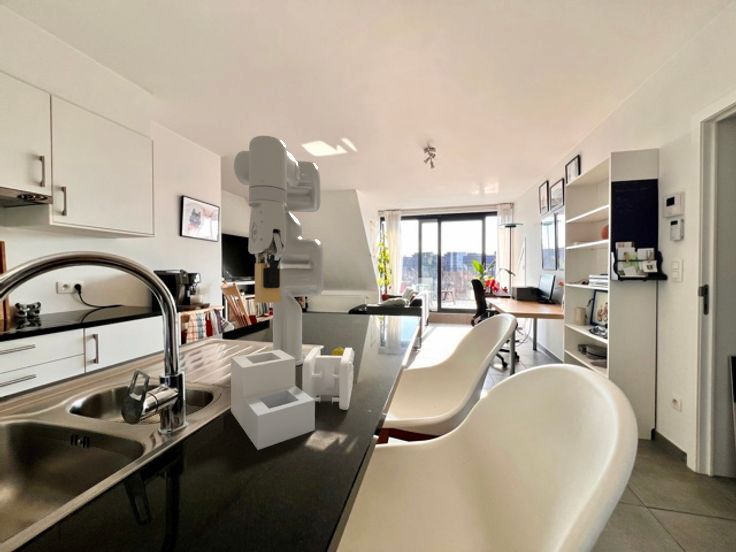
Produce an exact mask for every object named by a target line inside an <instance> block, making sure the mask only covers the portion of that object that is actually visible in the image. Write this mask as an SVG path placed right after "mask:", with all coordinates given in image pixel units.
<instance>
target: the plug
mask: <svg viewBox="0 0 736 552" xmlns="http://www.w3.org/2000/svg"><path fill="white" fill-rule="evenodd" d="M263 268H265V263H258V264H256V263H254V302H255V303H260V304H270V303H271V304H273V303H274V302H280V287H279V288H264V287H263ZM277 269H281V267H280V268H277Z"/></svg>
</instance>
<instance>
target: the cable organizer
mask: <svg viewBox="0 0 736 552" xmlns="http://www.w3.org/2000/svg"><path fill="white" fill-rule="evenodd" d="M354 359H355V351H354V350H353V347H345V348H344V353H343V356H331V355H321V348H320V347H316V346H315V347H313V348H312V349H311V350H310V351H309V353H308V354H307V355H306V358H305V360H304V362H303V364H302V369H301V370H302V371H301V373H302V376H301V377H302V378H301V379H302V380H301V382H302V384H301V385H302V387H301V388H302V389H301V390H302V391H303V392H305V393H306V394H308V395H309V396H310V397H312V398H313V399H314V400H315V402H321V398H322V397H321V396H332V397H331V404H332V406H333V403H334V402H335V403H336V402H338V408H339V410H343V411H346V410H348V409H349V408H350V407H349V406H350V401H351V397H352V391H353V385H354V384H353V381H354ZM317 396H319V397H317ZM335 396H339V397H335Z"/></svg>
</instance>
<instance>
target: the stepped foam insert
mask: <svg viewBox="0 0 736 552" xmlns="http://www.w3.org/2000/svg"><path fill="white" fill-rule="evenodd" d="M230 412H231V414H232V415H233V416H234V418H235V420H236V421H237V422H238V423H239V425H240V426H241V428H242V429H243V430H244V432H245V434H246V435H247V437H248V438H249V439H250V441H251V442H252V443H253V445H254V447H255V448H256V449H257V451H259V450H262V449H264V448H267V447H270V446H271V447H272V446H274V445H276V444H279V443H282V442H284V441H287V440H291V439H294V438H296V437H300V436H302V435H305V434H308V433H311V432H313V431H315V429H316V426H315V421H316V418H315V416H316V415H315V414H316V413H315V412H316V401H315V400H314V399H313V398H312V397H310V396H309V395H308V394H306V393H305V392H303V391H302V389H300V388H299V387H298V386H296V366H295V358H294V357H292V356H290V355H288V354H287V353H285V352H283V351H281V350H274V351H273V350H269V351H262V352H256V353H248V354H244V355H243V354H242V355H238V356H236V355H235V356H231V357H230Z"/></svg>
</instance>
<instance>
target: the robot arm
mask: <svg viewBox="0 0 736 552" xmlns="http://www.w3.org/2000/svg"><path fill="white" fill-rule="evenodd" d="M233 171H234V174H235V177H236V178H237V181H239V183H240V184H241V185H243V186H248V206H249V207H250V208H251V209H250V210H251V211H250V215H249V217H250V218H249V226H248V227H249V228H248V246H247V249H248V252H249V254H251V255H254V256H255V264H258V263H265V268H263V287H264V288H279V287H280V302H274V303H272V351H274V350H281V351H283V352H285V353H287V354H288V355H290V356H292V357H294V358H295V367H296V366H300V365H303V362H304V360H305V358H306V357H307V355H304V354H303V310H302V309H303V308H302V306H301V305H300V303H299V302H298V301H297V300H296V298H298V297H319V296H320V295H321V294H323V291H324V247H323V244H322V242H321V241H320V240H318V239H315V238H303V227H302V224H301V222H300V221H299V220H298V218H296V217H295V216H294V215H293V213H291V212H295V213H296V212H297V213H299V212H300V213H315V212H317V211H318V210H319V209H320V207H321V175H320V171H319V168H318V165H317V164H316V163H314V162H312V161H303V160H296V159H295V158H294V156H293V155H292V154H291V153H290V152H288V148H287V146H286V144H285V143H284V142H283V140H281V139H280V138H278V137H275V136H270V135H258V136H257V135H256V136H254V137H253V138H251V139H250V142H249V145H248V150H241V151H239V152H238V153H237V154H236V155H235V158H234V161H233ZM281 266H290V267H282V268H281ZM291 266H292V267H291ZM294 267H295V268H294ZM297 267H303V268H297ZM304 267H305V268H304ZM306 267H309V268H306ZM277 268H280V269H277ZM295 297H296V298H295Z"/></svg>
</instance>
